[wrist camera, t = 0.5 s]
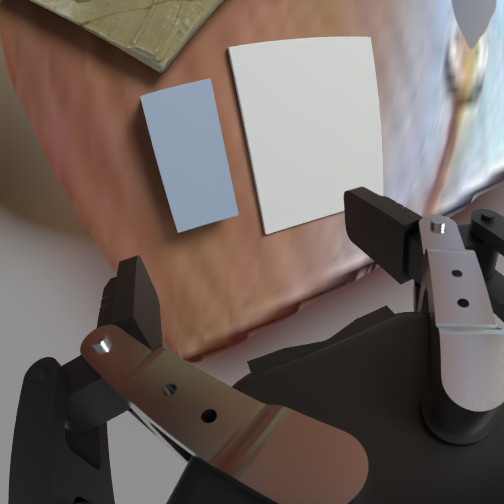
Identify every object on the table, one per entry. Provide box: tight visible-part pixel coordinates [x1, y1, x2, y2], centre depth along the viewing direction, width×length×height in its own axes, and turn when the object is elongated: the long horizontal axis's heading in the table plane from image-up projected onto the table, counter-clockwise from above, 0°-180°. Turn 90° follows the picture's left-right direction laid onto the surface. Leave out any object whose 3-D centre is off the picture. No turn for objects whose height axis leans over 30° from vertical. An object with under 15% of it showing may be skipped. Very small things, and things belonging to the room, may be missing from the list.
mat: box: [227, 37, 383, 234], centre depth 30 cm, size 19×15×1 cm
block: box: [140, 79, 239, 233], centre depth 26 cm, size 12×6×4 cm, turn 10°
